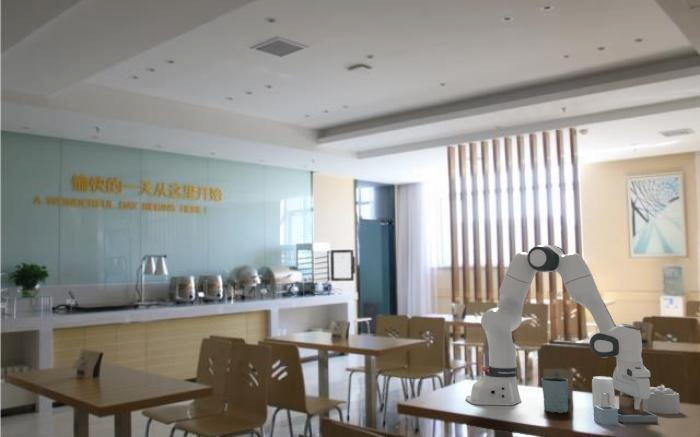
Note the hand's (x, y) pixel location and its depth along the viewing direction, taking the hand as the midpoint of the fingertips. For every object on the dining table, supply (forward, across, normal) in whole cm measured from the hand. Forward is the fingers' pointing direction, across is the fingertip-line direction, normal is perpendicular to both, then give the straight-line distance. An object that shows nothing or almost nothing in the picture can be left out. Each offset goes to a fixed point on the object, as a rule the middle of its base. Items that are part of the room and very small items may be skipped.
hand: (630, 406), depth 230 cm
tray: (+4, 0, 0) cm, 5 cm away
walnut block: (+2, 0, 0) cm, 2 cm away
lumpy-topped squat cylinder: (+5, -12, +19) cm, 23 cm away
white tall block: (+5, -17, -2) cm, 18 cm away
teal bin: (+5, -16, -22) cm, 28 cm away
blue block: (+5, +4, -11) cm, 13 cm away
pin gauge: (+3, +4, -11) cm, 12 cm away
